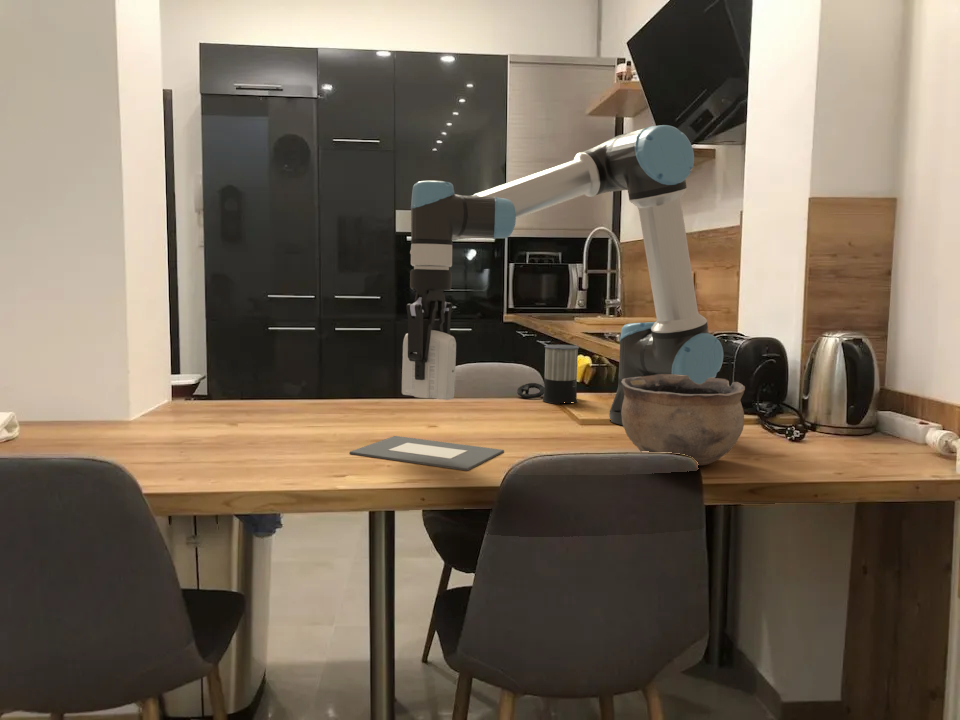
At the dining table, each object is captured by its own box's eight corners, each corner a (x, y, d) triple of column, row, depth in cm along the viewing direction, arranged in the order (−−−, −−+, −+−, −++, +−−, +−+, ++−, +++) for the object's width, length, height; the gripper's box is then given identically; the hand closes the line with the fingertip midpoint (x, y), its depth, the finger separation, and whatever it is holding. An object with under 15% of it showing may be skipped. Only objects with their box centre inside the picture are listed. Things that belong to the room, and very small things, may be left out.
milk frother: (579, 405, 202) (581, 348, 200) (518, 403, 202) (519, 346, 201) (573, 396, 216) (575, 343, 214) (516, 394, 216) (518, 341, 215)
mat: (503, 451, 148) (504, 449, 148) (467, 470, 133) (467, 467, 133) (394, 437, 158) (394, 435, 158) (349, 453, 143) (349, 451, 143)
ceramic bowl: (763, 464, 143) (768, 383, 141) (704, 485, 128) (709, 395, 126) (658, 443, 159) (662, 370, 157) (594, 460, 143) (597, 379, 141)
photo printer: (458, 397, 144) (460, 330, 143) (448, 401, 140) (449, 332, 139) (409, 392, 148) (410, 327, 147) (398, 395, 145) (399, 329, 143)
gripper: (435, 268, 151) (432, 387, 154) (388, 267, 135) (386, 400, 138) (470, 269, 148) (467, 391, 151) (426, 268, 132) (423, 404, 135)
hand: (428, 395), depth 144 cm, fingers closed on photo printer, 4 cm apart
